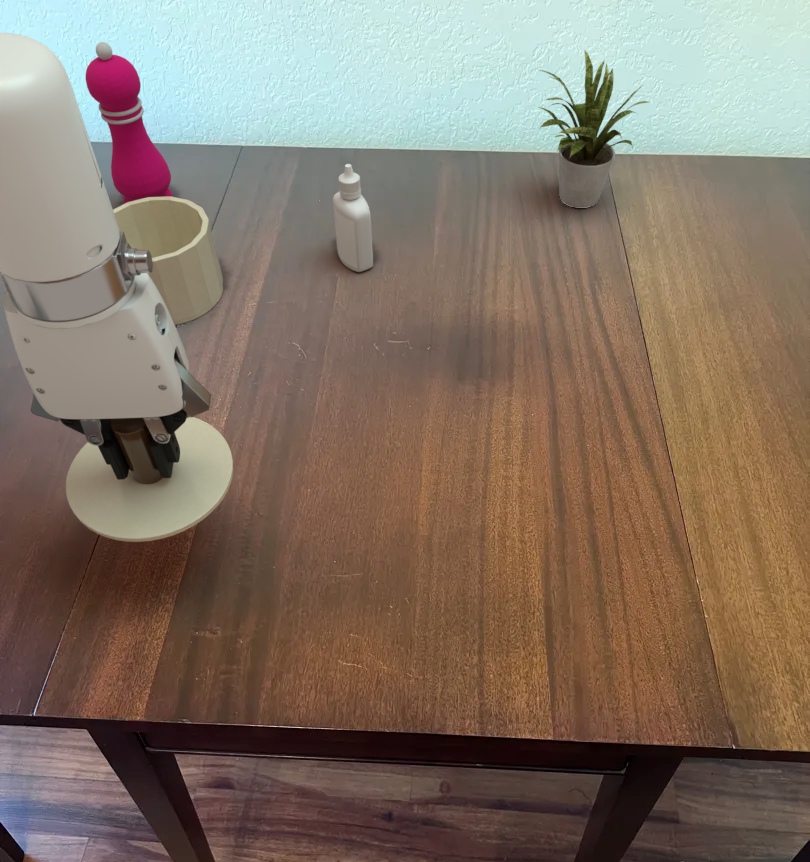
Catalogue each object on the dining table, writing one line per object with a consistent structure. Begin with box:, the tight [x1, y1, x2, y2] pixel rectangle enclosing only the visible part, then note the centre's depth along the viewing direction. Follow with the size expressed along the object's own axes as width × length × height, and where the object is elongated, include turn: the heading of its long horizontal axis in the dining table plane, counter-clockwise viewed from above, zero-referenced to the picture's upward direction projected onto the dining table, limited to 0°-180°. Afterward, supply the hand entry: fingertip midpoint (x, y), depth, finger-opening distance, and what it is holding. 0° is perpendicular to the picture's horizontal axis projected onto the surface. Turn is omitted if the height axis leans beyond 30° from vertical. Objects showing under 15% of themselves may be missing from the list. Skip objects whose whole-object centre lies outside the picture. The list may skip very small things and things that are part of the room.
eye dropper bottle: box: [332, 163, 374, 273], centre depth 91 cm, size 4×6×12 cm
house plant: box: [537, 50, 651, 207], centre depth 97 cm, size 14×14×16 cm
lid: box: [65, 416, 234, 543], centre depth 62 cm, size 13×13×7 cm
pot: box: [112, 196, 224, 326], centre depth 89 cm, size 12×12×8 cm
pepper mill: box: [85, 41, 174, 204], centre depth 95 cm, size 7×7×20 cm
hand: (146, 464), depth 63 cm, fingers closed on lid, 2 cm apart
